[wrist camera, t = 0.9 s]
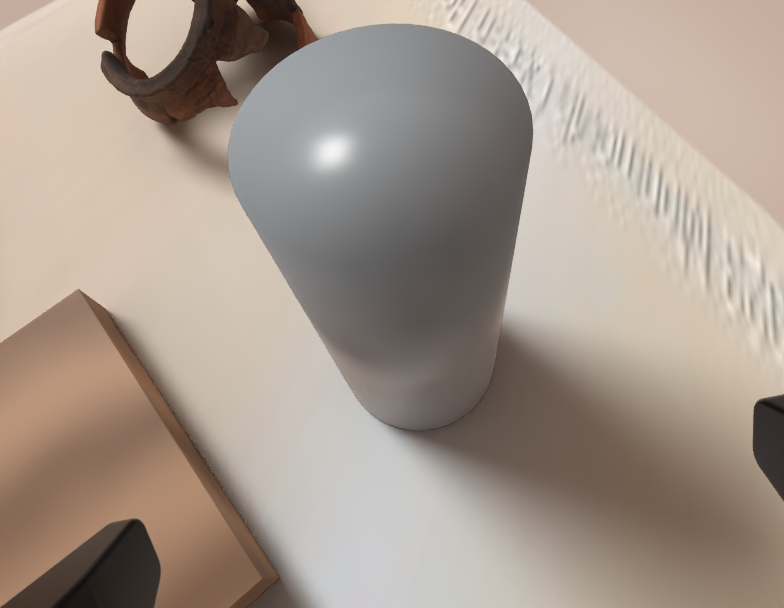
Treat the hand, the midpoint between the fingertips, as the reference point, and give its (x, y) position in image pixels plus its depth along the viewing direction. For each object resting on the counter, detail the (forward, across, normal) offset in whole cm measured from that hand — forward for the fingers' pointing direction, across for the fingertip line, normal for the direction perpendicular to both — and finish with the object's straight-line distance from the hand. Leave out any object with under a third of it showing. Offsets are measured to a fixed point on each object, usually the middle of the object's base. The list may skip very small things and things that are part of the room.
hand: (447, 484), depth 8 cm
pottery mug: (+27, +7, -8) cm, 30 cm away
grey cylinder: (+14, 0, +4) cm, 15 cm away
